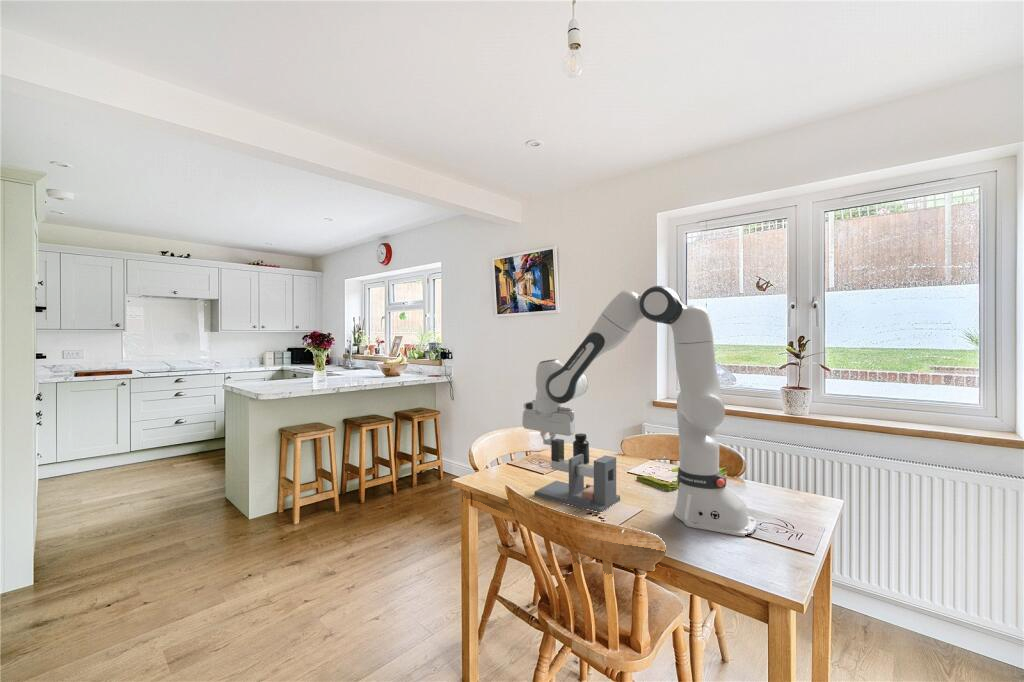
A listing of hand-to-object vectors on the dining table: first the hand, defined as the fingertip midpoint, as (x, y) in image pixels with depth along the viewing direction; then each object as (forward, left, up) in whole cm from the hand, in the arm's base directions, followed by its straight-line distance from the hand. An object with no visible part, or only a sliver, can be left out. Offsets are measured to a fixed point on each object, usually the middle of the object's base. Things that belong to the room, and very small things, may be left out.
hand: (548, 444), depth 158 cm
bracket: (-11, 0, -16) cm, 20 cm away
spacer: (-17, 0, -12) cm, 21 cm away
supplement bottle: (+8, -37, -17) cm, 41 cm away
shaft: (-12, 0, -8) cm, 14 cm away
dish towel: (-33, -44, -17) cm, 57 cm away
